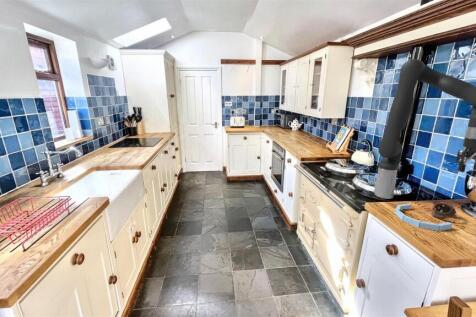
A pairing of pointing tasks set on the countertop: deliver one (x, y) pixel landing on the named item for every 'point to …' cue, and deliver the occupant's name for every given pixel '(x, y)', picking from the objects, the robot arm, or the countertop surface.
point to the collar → (419, 223)
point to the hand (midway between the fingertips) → (468, 171)
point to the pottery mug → (443, 210)
